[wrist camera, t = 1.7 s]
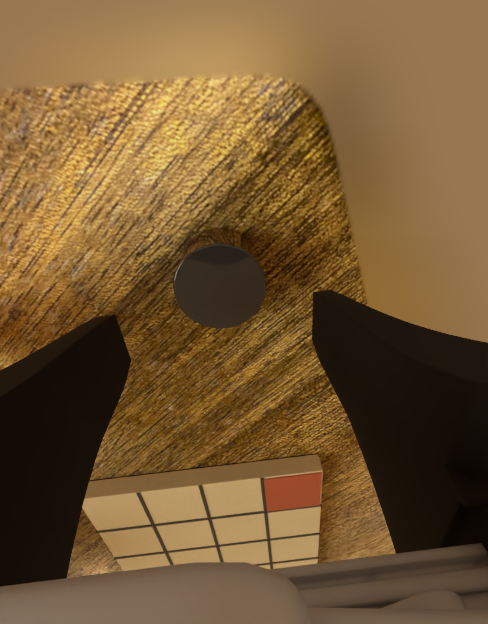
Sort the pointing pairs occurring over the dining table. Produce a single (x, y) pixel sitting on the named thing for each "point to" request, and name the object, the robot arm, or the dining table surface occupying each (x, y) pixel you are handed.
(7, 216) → the dining table surface
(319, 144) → the dining table surface
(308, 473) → the board
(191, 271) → the dark grey cylinder
